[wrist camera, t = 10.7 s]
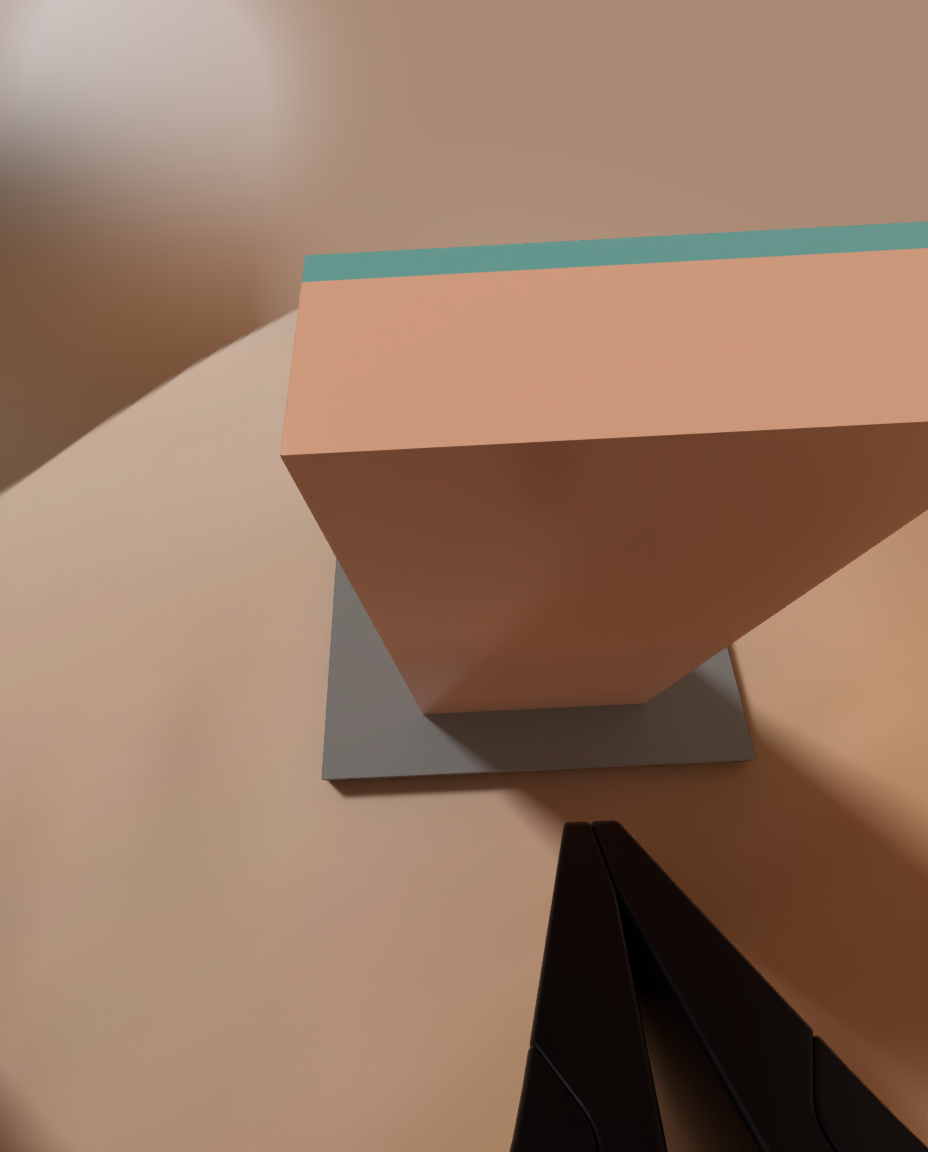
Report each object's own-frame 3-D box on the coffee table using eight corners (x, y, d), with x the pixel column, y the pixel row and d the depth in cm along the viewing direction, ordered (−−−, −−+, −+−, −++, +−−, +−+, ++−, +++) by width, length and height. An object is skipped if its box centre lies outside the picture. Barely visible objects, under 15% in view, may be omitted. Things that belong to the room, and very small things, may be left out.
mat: (746, 761, 15) (755, 759, 14) (327, 780, 15) (321, 779, 15) (657, 408, 20) (662, 397, 20) (349, 424, 21) (346, 413, 20)
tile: (644, 703, 15) (1068, 414, 4) (423, 714, 15) (280, 454, 4) (628, 621, 16) (937, 221, 5) (421, 632, 16) (305, 255, 5)
